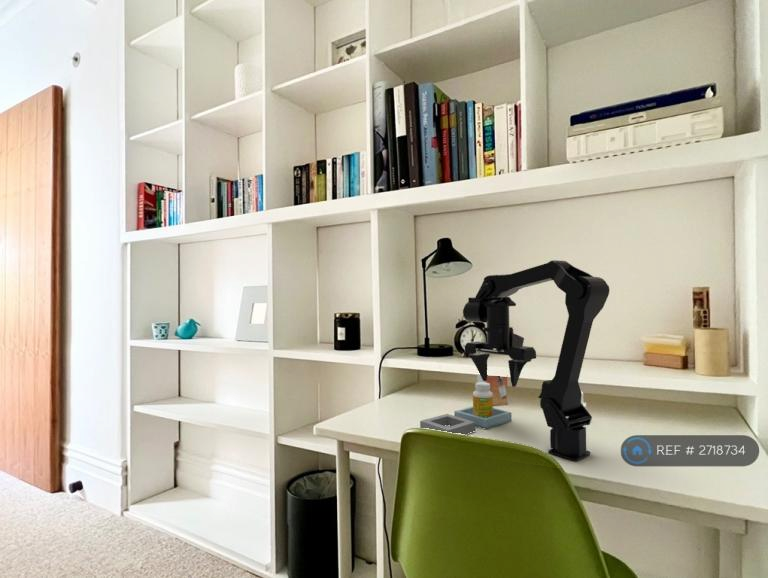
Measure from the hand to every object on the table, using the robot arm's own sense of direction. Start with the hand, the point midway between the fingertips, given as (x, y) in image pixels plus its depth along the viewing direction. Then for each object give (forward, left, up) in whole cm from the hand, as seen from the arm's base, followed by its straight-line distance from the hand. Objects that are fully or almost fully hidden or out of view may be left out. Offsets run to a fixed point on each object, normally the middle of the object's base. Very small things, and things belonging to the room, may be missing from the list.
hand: (499, 383), depth 111 cm
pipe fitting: (-8, -22, -12) cm, 26 cm away
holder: (+8, +11, -12) cm, 18 cm away
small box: (+18, -20, -12) cm, 30 cm away
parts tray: (+8, -3, -12) cm, 15 cm away
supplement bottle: (+8, -3, -12) cm, 14 cm away
